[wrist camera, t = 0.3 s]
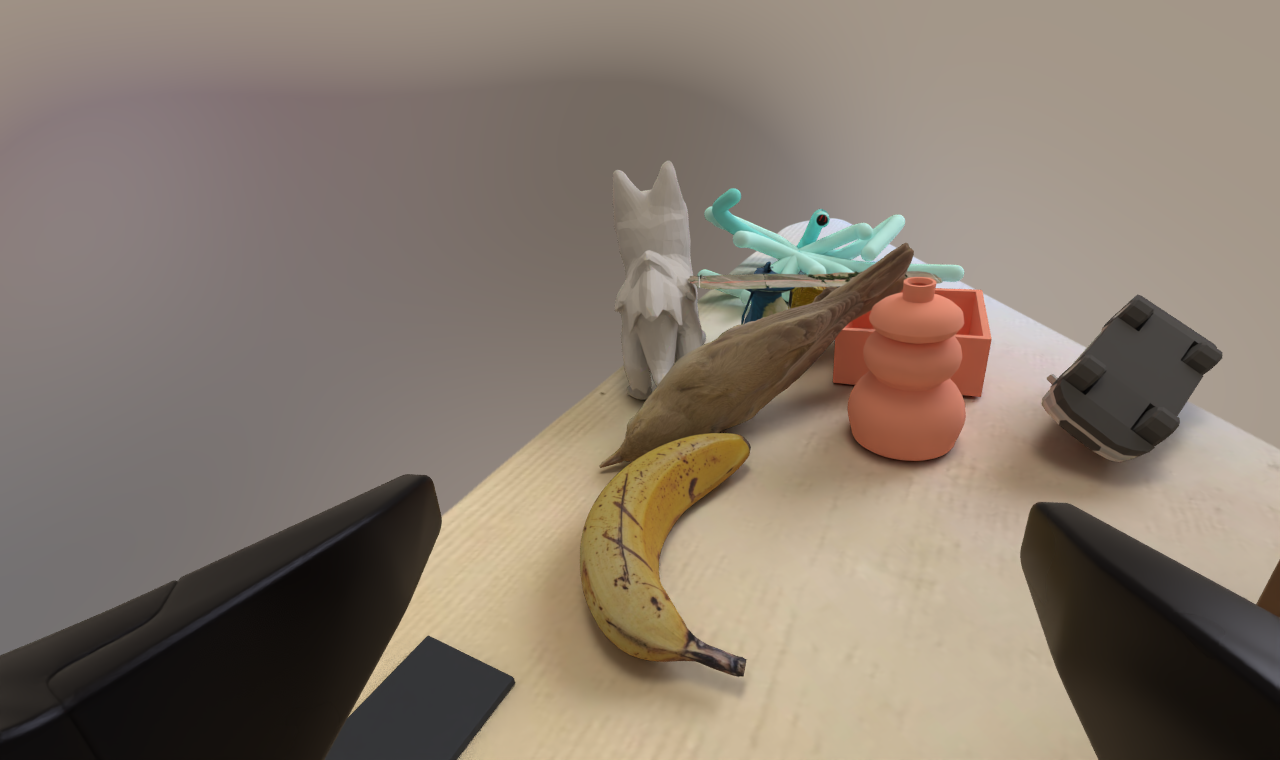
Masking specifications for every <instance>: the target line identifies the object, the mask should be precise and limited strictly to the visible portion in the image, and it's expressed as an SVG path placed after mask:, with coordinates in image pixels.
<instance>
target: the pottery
mask: <svg viewBox="0 0 1280 760" xmlns="http://www.w3.org/2000/svg"><path fill="white" fill-rule="evenodd" d="M990 345H991V334H990V329H989V324H988V319H987V313H986V308H985V303H984V298H983V292H982V290H970V289H942V288H936V281H935V280H934V279H931V278H927V277H910V278H907V279H905V280H904V282H903V290H902V291H901V292H900V293H897V294H893V295H890V296H888V297H885V298H884V299H882V300H881V301H879V302H878V303H876V304H875V305H874V306H873V307H872V310H871V311H869V312H867V313H866V314H864V315H862V316H860V317H858V318H857V319H855V320H853V321H851V322H850V323H849V324H848V325H847V326H846V327H845V328H844V329H843V330H842V331H841V332H840V333H839V334H838V335H837V336H836V338H835V351H834V370H833V383H842V384H852V385H855V386H854V388H853V389H852V391H851V394H850V397H849V401H848V415H849V421H850V425H851V429H852V434H853V436H854V438H855V439H856V441H857V442H858V443H859V444H860V445H862V446H863V447H865V448H866V449H868V450H870V451H872V452H874V453H876V454H879V455H881V456H884V457H888V458H892V459H898V460H907V461H920V460H929V459H934V458H937V457H940V456H942V455H944V454H946V453H947V452H949V451H950V450H951V449H952V448H953V446H954V444H955V442H956V440H957V438H958V436H959V434H960V432H961V430H962V428H963V425H964V422H965V417H966V415H965V403H964V400H963V397H962V395H967V396H977V397H981V393H982V388H983V382H984V377H985V372H986V366H987V361H988V355H989V350H990Z"/></svg>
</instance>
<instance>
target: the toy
mask: <svg viewBox="0 0 1280 760" xmlns="http://www.w3.org/2000/svg"><path fill="white" fill-rule="evenodd" d="M613 208H614V227H615V230H616V234H617V237H618V243H619V250H620V254H621V257H622V260H623V263H624V266H625V273H626V281H625V283H624V284H623V286H622V287H621V289H620V290H619V293H618V295H617V298H616V302H615V311H617V312H618V311H619V312H620V313H621V317H622V335H621V343H622V351H623V360H624V368H625V372H626V375H627V378H628V381H629V384H630V386H628V387H627V393H628V394H629V395H630V396H632V397H634V398H637V399H642V400H644V399H647V398H648V397H649V396H650V395H651V392H652V388H651V387H652V382H651V376H650V371H651V373H652V376H653V380H654V383H655V384H656V386H657V387H658V385H659V383H660V382H661V380H662V379H663V378H664V376H665V375H666V374H667V373H668V371H669V370H670V369H671V367H672V366H673V365H674V360H675V356H676V360H677V361H678V360H679V359H680V358H681V357H683V356H684V355H686V354H687V353H689V352H690V351H692V350H694V349H696V348H698V347H700V346H702V345H703V344H704V342H705V341H706V334H705V332H704V331H703V330H702V329H701V325H700V320H699V315H698V306H697V303H698V292H697V287H696V285H695V284H691V283H690V281H688V279H689V278H690V276H693V271H692V266H691V258H690V233H689V224H688V212H687V207H686V204H685V202H684V201H683V197H682V194H681V191H680V187H679V185H678V181H677V177H676V173H675V169H674V167H673V164H672V163H671V162H670V161H666V162H665V163H664V164H663V165H662V166H661V169H660V172H659V175H658V178H657V180H656V181H655V183H654V185H653V188H652V190H646V191H640V190H638V188H637V187H635V186H634V185H633V184H632V182H631V181H630V180H629V179H628V177H627V176H626V175H625V173H624V172H622V171H620V170H616V171H615V172H614V174H613Z"/></svg>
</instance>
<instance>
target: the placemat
mask: <svg viewBox="0 0 1280 760" xmlns="http://www.w3.org/2000/svg"><path fill="white" fill-rule="evenodd" d="M514 684H515V681H514V678H513V677H512V676H510V675H508V674H506V673H504V672H502V671H500V670H498V669H495V668H493V667H491V666H489V665H487V664H485V663H483V662H481V661H479V660H477V659H475V658H473V657H471V656H469V655H467V654H465V653H463V652H461V651H459V650H457V649H455V648H453V647H451V646H449V645H447V644H445V643H442V642H440V641H438V640H436V639H434V638H432V637H430V636H427V637H426V638H425V639H424V640H423V641H422V642H421V643H420V644H419V645H418V646H417V647H416V648H415V649H414V650H413V651H412V652H411V653H410V654H409V656H408V657H407V658H406V659H405V660H404V661H403V662H402V663H401V664H400V665H399V666H398V667H397V668H396V669H395V670H394V671H393V672H392V673H391V674H390V675H389V676H388V677H387V678H386V679H385V680H384V681H383V682H382V683H381V684H380V685H379V686H378V687H377V688H376V689H375V691H374V692H373V693H372V694H371V695H370V696H369V697H368V698H367V699H366V700H365V701H364V702H363V703H362V704H361V705H360V706H359V707H358V708H357V709H356V710H355V711H354V712H353V713H352V714H351V715H350V716H349V717H348V718H347V720H346V721H345V723H344V725H343V727H342V729H341V730H340V732H339V734H338V736H337V738H336V740H335V741H334V743H333V745H332V747H331V749H330V750H329V752H328V754H327V756H326V758H325V760H456V759H457V758H458V757H459V755H460V754H461V753H462V752H463V750H464V749H465V748H466V746H467V745H468V744H469V742H470V741H471V740H472V739H473V737H474V736H475V735H476V733H477V732H478V731H479V730H480V728H481V727H482V726H483V724H484V723H485V722H486V720H487V719H488V718H489V717H490V715H491V714H492V713H493V711H494V710H495V709H496V707H497V706H498V705H499V704H500V702H501V701H502V700H503V698H504V697H505V696H506V694H507V693H508V692H509V691H510V689H511V688H512V687H513V685H514Z"/></svg>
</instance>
